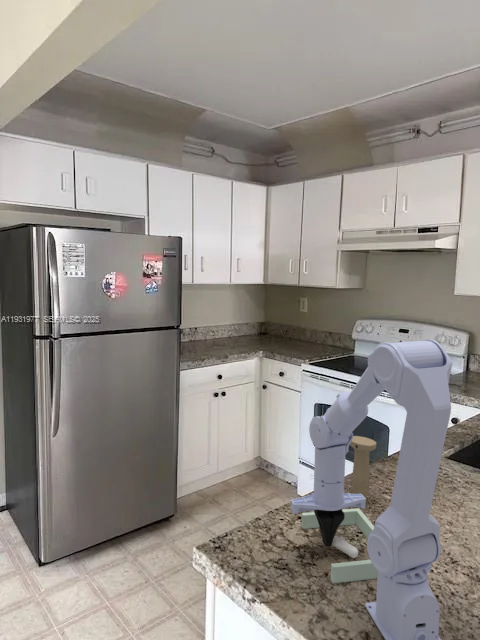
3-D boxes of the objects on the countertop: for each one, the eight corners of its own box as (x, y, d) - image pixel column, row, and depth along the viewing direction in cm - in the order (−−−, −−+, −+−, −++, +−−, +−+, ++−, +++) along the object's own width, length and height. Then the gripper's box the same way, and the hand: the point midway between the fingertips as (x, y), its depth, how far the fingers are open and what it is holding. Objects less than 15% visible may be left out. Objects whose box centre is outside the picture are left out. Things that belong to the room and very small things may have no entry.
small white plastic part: (347, 563, 84) (348, 547, 84) (327, 548, 89) (328, 532, 89) (362, 560, 85) (363, 544, 85) (341, 545, 91) (342, 529, 91)
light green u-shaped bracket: (401, 575, 81) (402, 559, 81) (332, 583, 79) (333, 567, 79) (358, 521, 99) (359, 508, 99) (301, 526, 97) (301, 513, 96)
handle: (366, 510, 103) (368, 447, 102) (342, 499, 108) (344, 439, 107) (377, 503, 107) (380, 442, 105) (353, 493, 111) (356, 434, 110)
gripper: (355, 465, 92) (353, 528, 93) (286, 470, 89) (285, 535, 91) (371, 481, 85) (368, 549, 86) (297, 487, 82) (295, 557, 84)
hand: (326, 543), depth 88 cm, fingers closed
